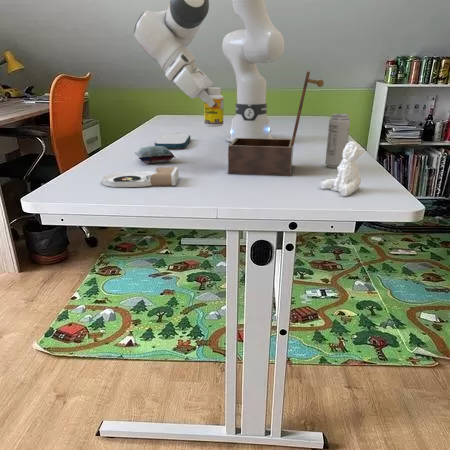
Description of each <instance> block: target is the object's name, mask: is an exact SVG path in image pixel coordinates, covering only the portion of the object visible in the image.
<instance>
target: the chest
mask: <svg viewBox="0 0 450 450" xmlns="http://www.w3.org/2000/svg"><path fill="white" fill-rule="evenodd" d="M291 141H292V138H273V139H259V138H235V139H234V140H233V141H232V142H229V145H228V146H227V157H228V158H227V173H228V175H246V176H247V175H248V176H249V175H253V176H274V177H275V176H276V177H277V176H278V177H291V174H292V173H291V172H292V168H293V158H294V157H293V156H294V146H291Z"/></svg>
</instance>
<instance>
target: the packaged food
mask: <svg viewBox="0 0 450 450" xmlns="http://www.w3.org/2000/svg"><path fill="white" fill-rule="evenodd" d="M133 153H134V155H135V156H137V157H138V158H137V160H140V161H141V162H142V163H144V164H159V163H166V162H168V161H171V160H173V159H176V155H175V154H174V153H172V151H171V150H169V148H166V147H163V146H155V145H149V146H144V147H143V146H142V147H140V148H139V150H137V151H133Z"/></svg>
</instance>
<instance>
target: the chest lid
mask: <svg viewBox="0 0 450 450" xmlns="http://www.w3.org/2000/svg"><path fill="white" fill-rule="evenodd" d="M310 74H311V69H307V71H306V74H305V78H304V83H303V88H302V92H301V97H300V101H299V106H298V110H297V113H296V114H297V115H296V119H295V122H294V123H295V124H294V128H293V133H292V136H291V139H292V141H291V146H293V147H294V145H295V141H296V136H297V132H298V129H299V123H300V119H301V115H302V109H303V105H304V100H305V96H306V91H307V88H308V83H309V84H314V85H317V87H318V88H321V87H323V86H324V84H325V82H324V80H323V78H318V79H313V78H310Z"/></svg>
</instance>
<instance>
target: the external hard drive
mask: <svg viewBox="0 0 450 450" xmlns="http://www.w3.org/2000/svg"><path fill="white" fill-rule="evenodd" d="M190 141H191V134H189V133H164V134H161V135H160V136H159V137H158V138H157V139H156V140H155V141H154V146H163V147H166V148H168V149H182V148H185V147H186V146H187V145H188V143H189V142H190Z"/></svg>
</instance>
